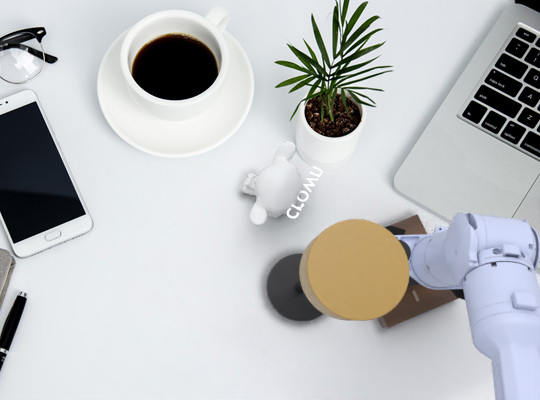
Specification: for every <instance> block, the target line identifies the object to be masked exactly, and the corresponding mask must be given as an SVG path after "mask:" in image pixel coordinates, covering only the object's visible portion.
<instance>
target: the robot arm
mask: <svg viewBox="0 0 540 400" xmlns="http://www.w3.org/2000/svg"><path fill="white" fill-rule="evenodd" d="M383 227H384V228H386V229H387V230H389V231H390V232H391V233H392V234H393V235H394V236H395V237H396V238H397V239H398V240H402V241H404V242H406V243H407V244H408V246H409V247H410V250H411V256H410V259H409V261H408V262H409V276H410V277H412V278H413V279H414V280H416V281H417V282H418V283H420V284H421V285H423V286H425V287H427V288H430V289H436V290H442V289H449V290H451V291H452V292H453V293H454V295H455V296H456V297H457V298H459V299H460V300H464V302H465V307H466V312H467V318H468V323H469V330H470V334H471V335H470V336H471V341H472V345H473V346H474V348H475V349H476V350H477V352H479V353H480V354H482V355H483V356H484V357H486V358H487V359H489V360H490V361H491V369H492V370H491V371H492V381H493V390H494V391H493V392H494V400H540V284H539V280H538V277H537V273H536V270H537V268H538V266H539V262H540V235H539V233H538V231H537V229H536V228H535V227H533V226H530V224H529V222H528V219H520V218H512V217H504V216H498V215H489V214H482V213H474V212H467V213H464V212H458V213H456V214H455V215H453V217H452V219H451V221H450V223H449V226H448V227H446V226H443V225H438V226H436V227H435V228H434V229H433V232H432V233H427V234H422V235H404V234H405V230H404V229H401V228H398V227H395V226H390V225H386V226H383Z"/></svg>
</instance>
